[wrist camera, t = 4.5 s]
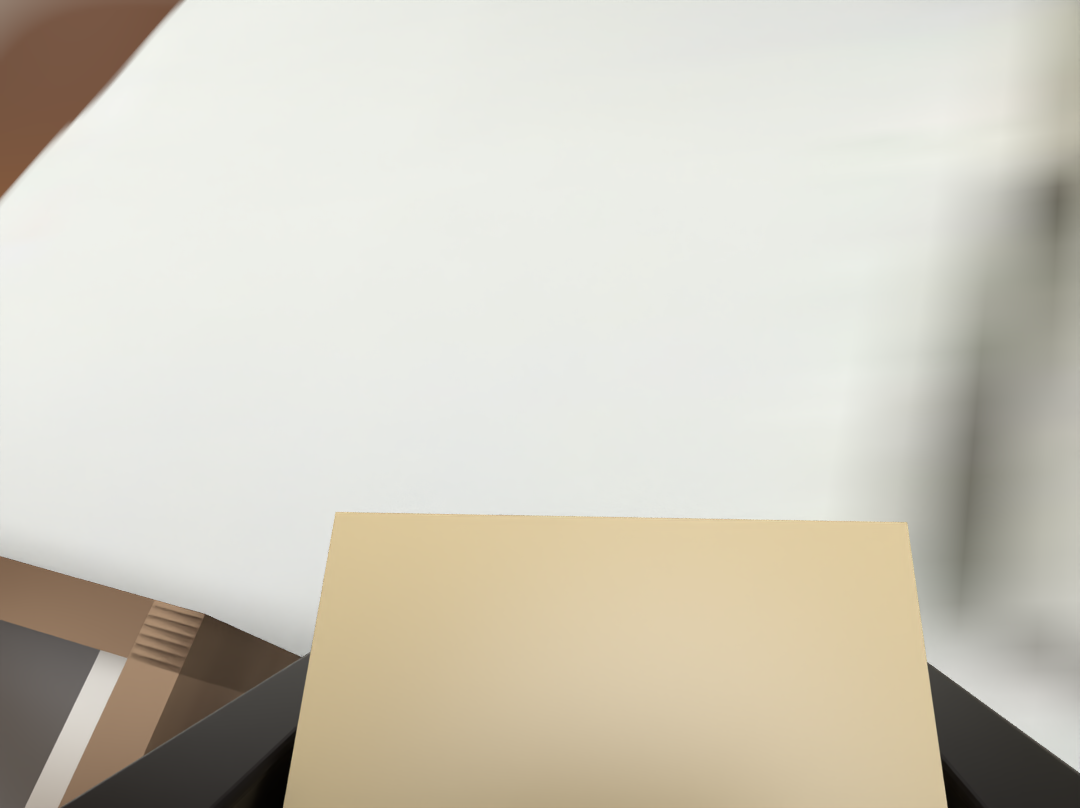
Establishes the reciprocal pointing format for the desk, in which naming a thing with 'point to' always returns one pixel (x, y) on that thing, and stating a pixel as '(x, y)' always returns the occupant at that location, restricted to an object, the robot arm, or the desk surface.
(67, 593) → the walled box
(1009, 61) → the desk surface
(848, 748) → the tan lidded carton
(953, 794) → the robot arm
